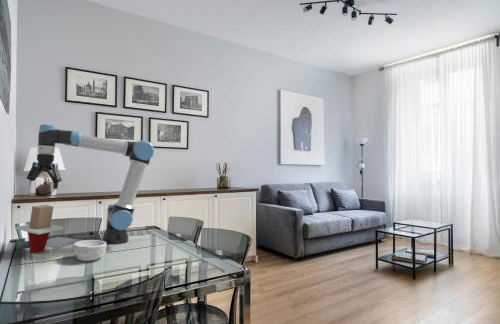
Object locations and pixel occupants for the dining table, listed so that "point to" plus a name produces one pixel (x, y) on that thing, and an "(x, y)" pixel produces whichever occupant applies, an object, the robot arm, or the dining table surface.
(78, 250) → the paper bowls
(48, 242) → the mat
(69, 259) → the dining table surface
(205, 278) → the dining table surface
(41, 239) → the plastic cup
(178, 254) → the dining table surface
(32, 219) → the lid
